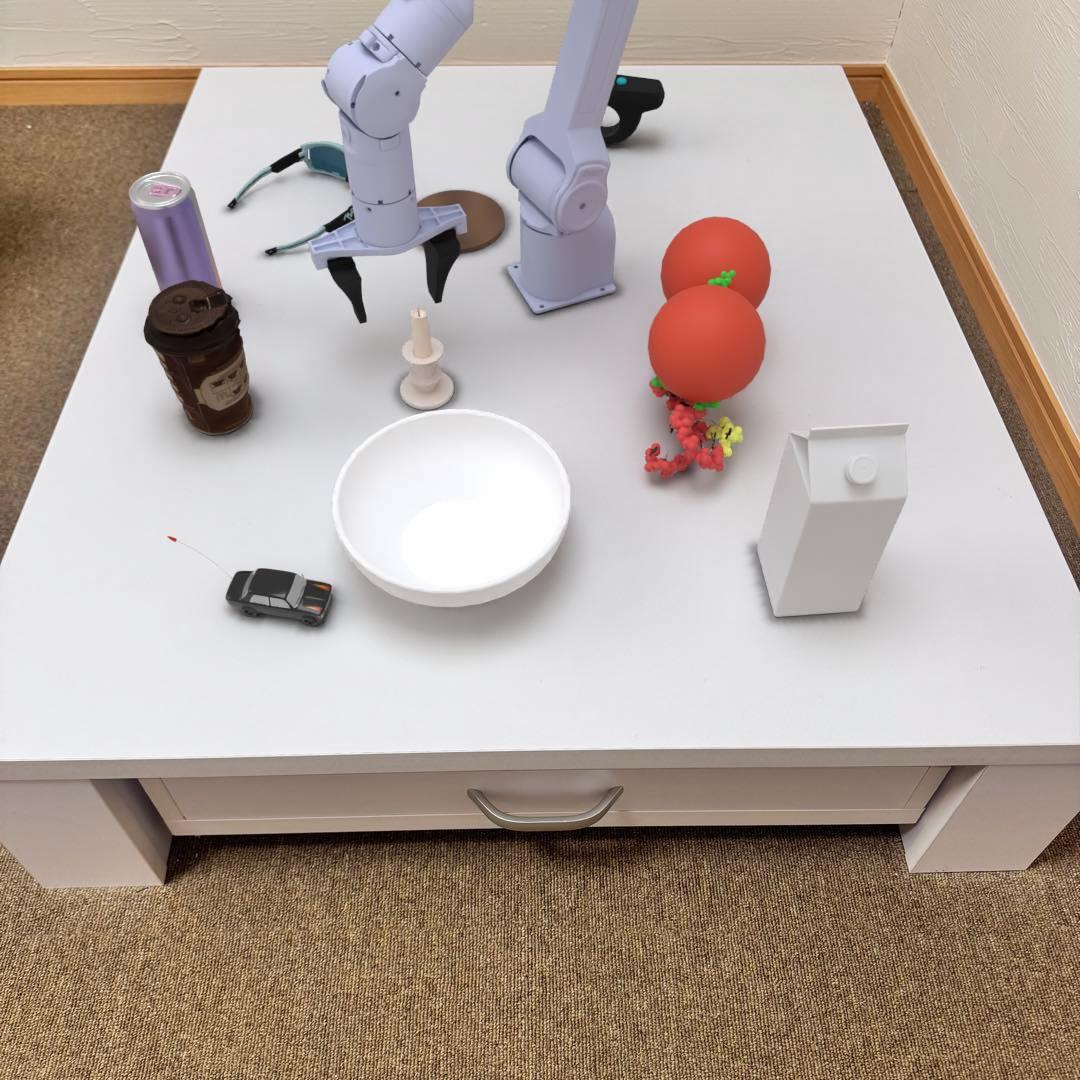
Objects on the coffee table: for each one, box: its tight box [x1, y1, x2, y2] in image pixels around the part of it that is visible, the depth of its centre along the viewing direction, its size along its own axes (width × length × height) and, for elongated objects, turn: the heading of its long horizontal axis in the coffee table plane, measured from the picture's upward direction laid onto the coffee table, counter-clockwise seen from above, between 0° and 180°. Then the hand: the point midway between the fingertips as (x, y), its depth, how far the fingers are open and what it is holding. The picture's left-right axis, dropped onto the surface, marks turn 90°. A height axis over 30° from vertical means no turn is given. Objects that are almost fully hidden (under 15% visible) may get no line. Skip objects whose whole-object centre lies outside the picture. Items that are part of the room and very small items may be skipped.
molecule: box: [643, 216, 772, 479], centre depth 98 cm, size 25×11×15 cm, turn 173°
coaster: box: [417, 189, 506, 254], centre depth 120 cm, size 11×11×1 cm
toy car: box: [166, 535, 333, 627], centre depth 86 cm, size 4×12×8 cm, turn 80°
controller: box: [600, 73, 666, 146], centre depth 126 cm, size 4×12×10 cm, turn 78°
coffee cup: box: [142, 280, 254, 436], centre depth 97 cm, size 9×8×13 cm
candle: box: [399, 307, 455, 411], centre depth 100 cm, size 5×5×10 cm
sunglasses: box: [226, 140, 355, 256], centre depth 120 cm, size 14×15×5 cm
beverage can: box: [128, 170, 224, 292], centre depth 105 cm, size 6×6×15 cm
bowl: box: [331, 408, 572, 608], centre depth 90 cm, size 20×20×7 cm
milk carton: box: [756, 421, 910, 618], centre depth 83 cm, size 7×7×19 cm
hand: (398, 306), depth 104 cm, fingers open, 7 cm apart
